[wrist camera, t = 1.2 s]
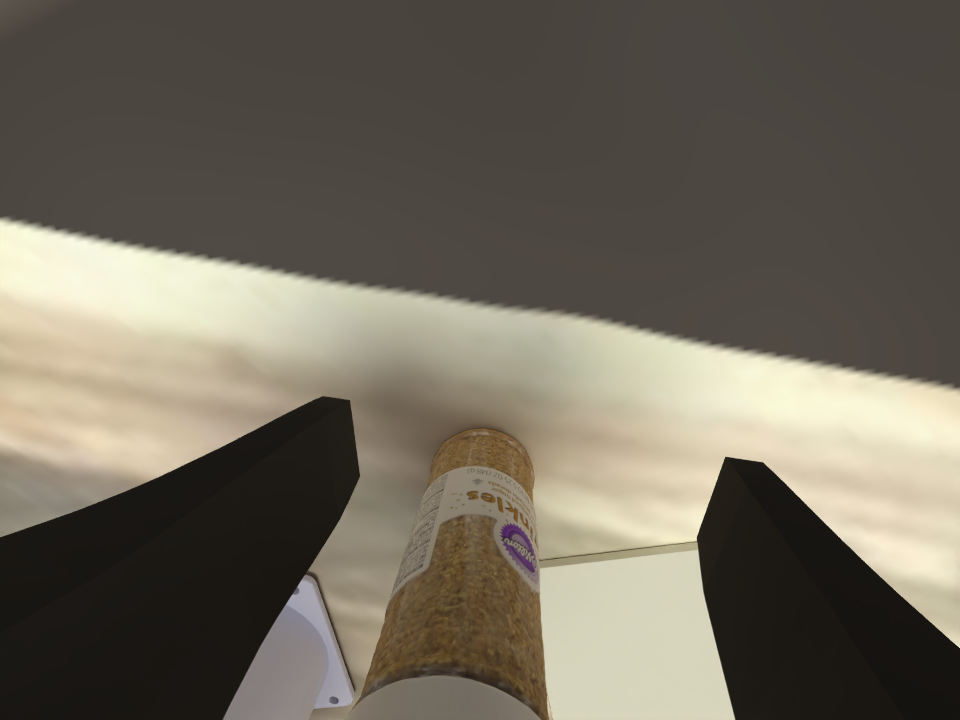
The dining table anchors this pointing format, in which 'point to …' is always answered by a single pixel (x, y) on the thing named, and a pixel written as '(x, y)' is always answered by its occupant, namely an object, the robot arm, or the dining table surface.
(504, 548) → the sprinkles bottle
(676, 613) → the sage mat
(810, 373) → the dining table surface
